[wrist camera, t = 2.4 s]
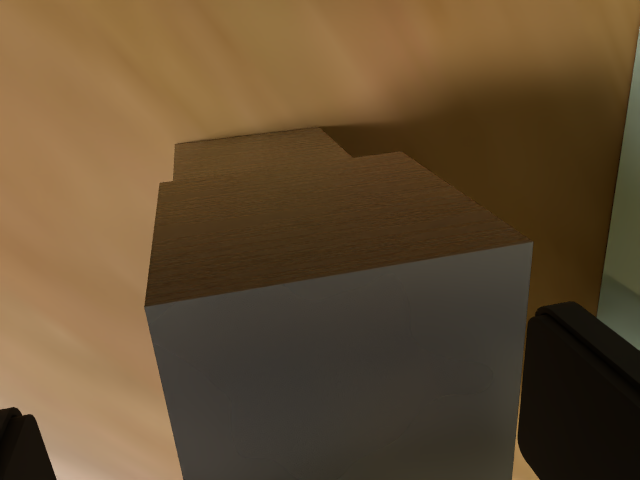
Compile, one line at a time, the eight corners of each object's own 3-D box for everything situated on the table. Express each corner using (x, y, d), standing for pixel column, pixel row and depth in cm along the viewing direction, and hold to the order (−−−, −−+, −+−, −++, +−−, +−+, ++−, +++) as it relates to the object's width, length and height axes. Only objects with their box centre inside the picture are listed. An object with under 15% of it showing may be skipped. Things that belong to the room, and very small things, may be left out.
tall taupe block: (168, 109, 11) (143, 307, 4) (316, 93, 12) (533, 242, 4) (230, 455, 15) (275, 885, 8) (341, 431, 15) (481, 812, 8)
